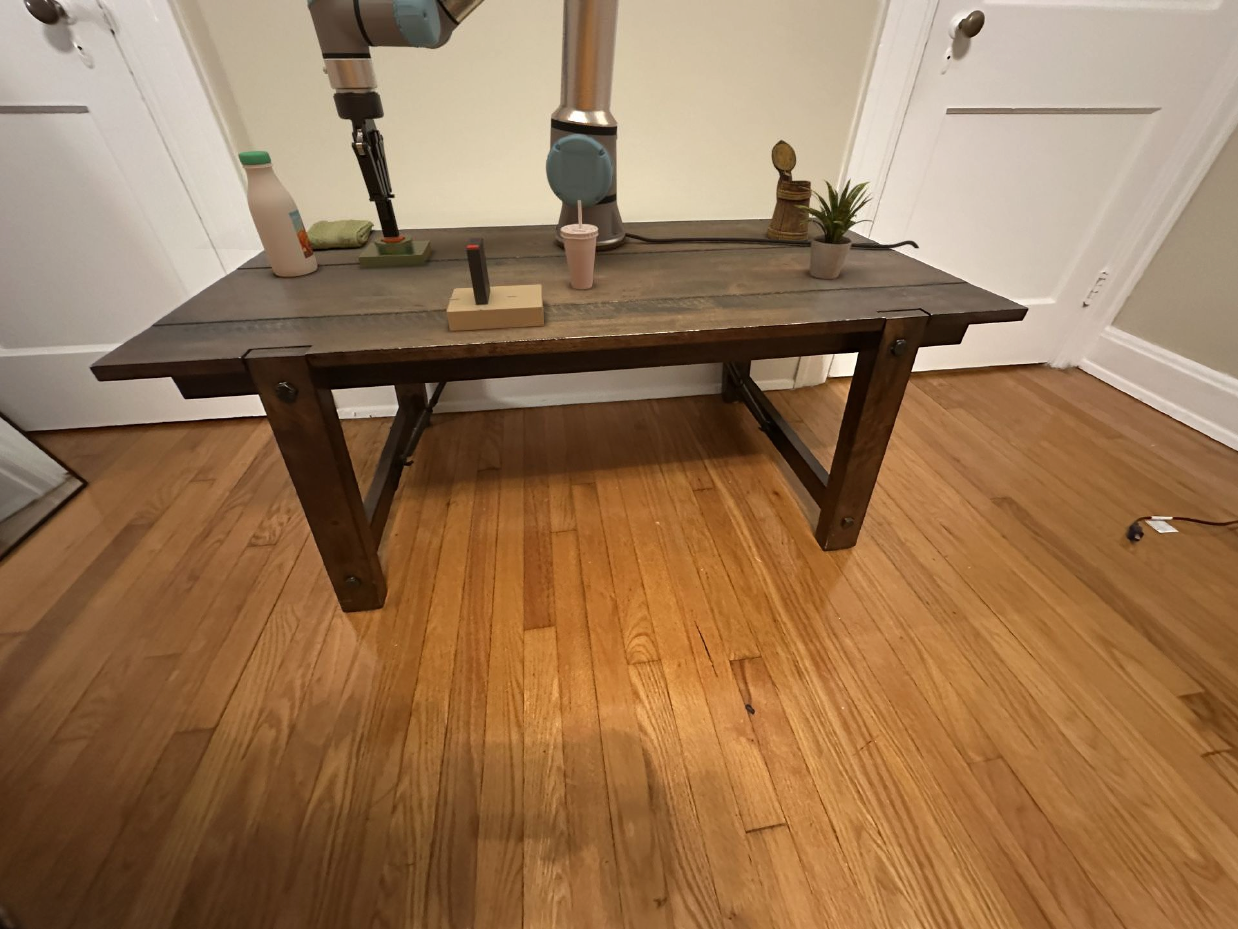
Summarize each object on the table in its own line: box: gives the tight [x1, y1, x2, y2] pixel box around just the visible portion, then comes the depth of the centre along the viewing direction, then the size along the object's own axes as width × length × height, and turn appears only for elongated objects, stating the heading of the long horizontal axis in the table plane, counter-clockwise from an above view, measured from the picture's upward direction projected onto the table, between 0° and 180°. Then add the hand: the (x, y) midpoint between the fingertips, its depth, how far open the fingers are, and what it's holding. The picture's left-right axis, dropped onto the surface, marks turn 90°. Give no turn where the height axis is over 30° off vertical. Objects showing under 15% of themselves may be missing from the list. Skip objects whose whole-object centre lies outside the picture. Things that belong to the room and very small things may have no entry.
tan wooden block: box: [445, 283, 545, 332], centre depth 83 cm, size 14×10×3 cm
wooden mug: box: [766, 139, 813, 241], centre depth 116 cm, size 9×14×18 cm, turn 17°
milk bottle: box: [237, 150, 318, 278], centre depth 96 cm, size 8×8×20 cm
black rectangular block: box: [465, 237, 491, 305], centre depth 80 cm, size 6×2×8 cm, turn 7°
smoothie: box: [561, 200, 598, 290], centre depth 91 cm, size 6×6×14 cm
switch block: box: [358, 233, 433, 269], centre depth 107 cm, size 12×10×4 cm
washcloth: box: [306, 219, 375, 251], centre depth 119 cm, size 13×18×3 cm
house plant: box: [794, 178, 875, 280], centre depth 95 cm, size 14×14×16 cm
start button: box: [382, 234, 404, 242], centre depth 106 cm, size 4×4×2 cm
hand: (391, 236), depth 105 cm, fingers closed
